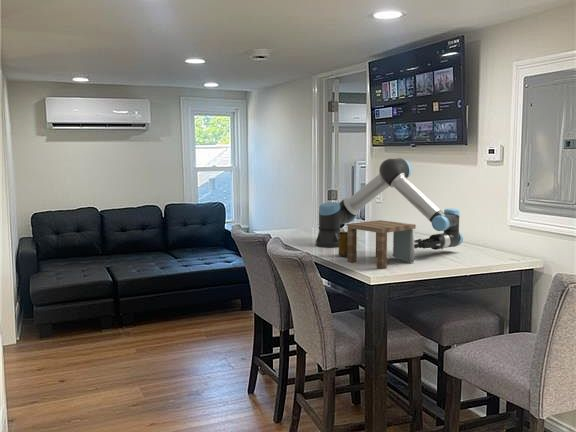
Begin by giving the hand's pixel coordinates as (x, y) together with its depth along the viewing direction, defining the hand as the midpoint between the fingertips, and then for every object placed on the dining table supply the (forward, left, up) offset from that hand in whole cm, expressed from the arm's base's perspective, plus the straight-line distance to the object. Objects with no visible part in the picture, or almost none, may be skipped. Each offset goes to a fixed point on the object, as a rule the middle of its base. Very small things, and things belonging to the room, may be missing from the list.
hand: (407, 246), depth 261 cm
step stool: (-10, -8, -7) cm, 15 cm away
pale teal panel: (-2, 0, -6) cm, 7 cm away
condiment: (-30, +2, -7) cm, 31 cm away
